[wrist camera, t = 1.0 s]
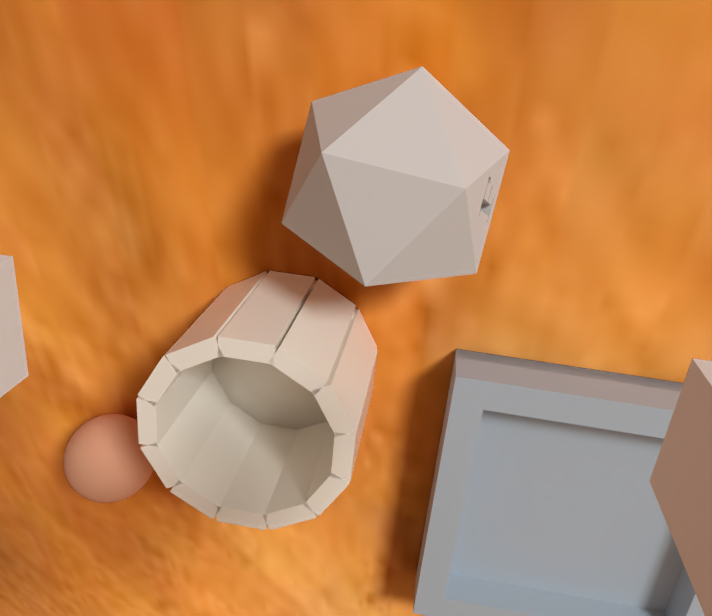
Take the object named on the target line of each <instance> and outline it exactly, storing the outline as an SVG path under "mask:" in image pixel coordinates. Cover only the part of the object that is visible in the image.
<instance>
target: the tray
mask: <svg viewBox="0 0 712 616" xmlns="http://www.w3.org/2000/svg"><path fill="white" fill-rule="evenodd" d="M683 384H684V383H679V382H672V381H666V380H659V379H653V378H646V377H639V376H633V375H626V374H619V373H613V372H606V371H600V370H593V369H586V368H580V367H573V366H566V365H560V364H553V363H546V362H540V361H533V360H527V359H520V358H513V357H507V356H500V355H493V354H487V353H480V352H474V351H467V350H460V349H456V352H455V358H454V364H453V369H452V375H451V381H450V386H449V392H448V398H447V403H446V409H445V414H444V420H443V426H442V431H441V437H440V443H439V448H438V454H437V459H436V465H435V471H434V476H433V482H432V488H431V493H430V499H429V504H428V510H427V516H426V521H425V527H424V533H423V538H422V544H421V550H420V555H419V561H418V566H417V572H416V583H415V595H414V607H413V613H416V614H421V615H426V616H705V615H704V613H703V610H702V608H701V605H700V603H699V600H698V598H697V596H696V593H695V591H694V588H693V586H692V583H691V581H690V579H689V576H688V574H687V571H686V569H685V566H684V564H683V562H682V559H681V557H680V554H679V552H678V549H677V547H676V545H675V542H674V540H673V537H672V535H671V532H670V530H669V528H668V525H667V523H666V520H665V518H664V516H663V513H662V511H661V508H660V506H659V503H658V501H657V499H656V496H655V494H654V491H653V489H652V486H651V484H650V482H649V481H650V478H651V475H652V472H653V469H654V467H655V464H656V461H657V458H658V455H659V452H660V449H661V447H662V444H663V441H664V438H665V435H666V432H667V429H668V427H669V424H670V421H671V418H672V415H673V412H674V409H675V407H676V404H677V401H678V398H679V395H680V392H681V389H682V386H683Z"/></svg>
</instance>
